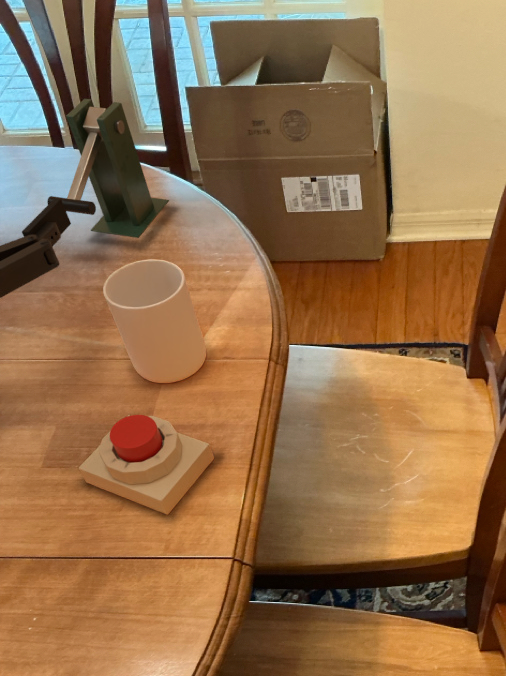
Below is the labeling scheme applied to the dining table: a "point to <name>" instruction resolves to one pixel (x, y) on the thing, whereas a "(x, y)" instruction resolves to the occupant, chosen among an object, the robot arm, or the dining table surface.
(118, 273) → the cup
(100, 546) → the dining table surface
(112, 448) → the confirm box
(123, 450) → the button
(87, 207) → the bolt lever
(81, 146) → the lock bracket
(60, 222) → the robot arm
